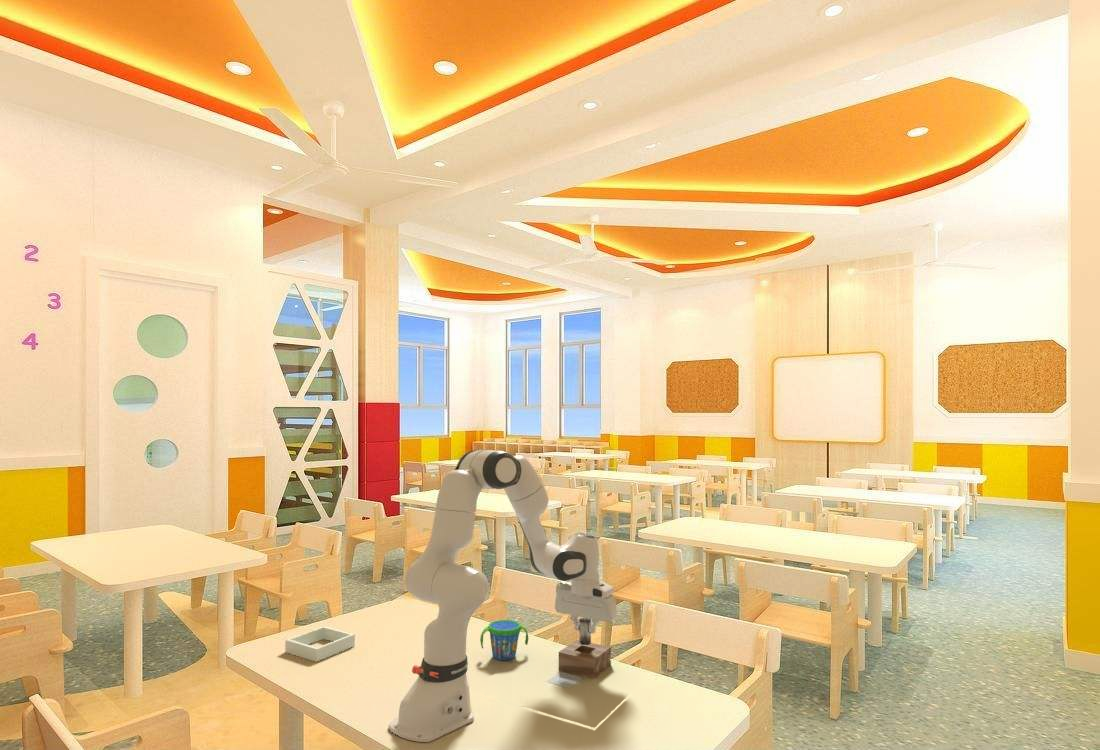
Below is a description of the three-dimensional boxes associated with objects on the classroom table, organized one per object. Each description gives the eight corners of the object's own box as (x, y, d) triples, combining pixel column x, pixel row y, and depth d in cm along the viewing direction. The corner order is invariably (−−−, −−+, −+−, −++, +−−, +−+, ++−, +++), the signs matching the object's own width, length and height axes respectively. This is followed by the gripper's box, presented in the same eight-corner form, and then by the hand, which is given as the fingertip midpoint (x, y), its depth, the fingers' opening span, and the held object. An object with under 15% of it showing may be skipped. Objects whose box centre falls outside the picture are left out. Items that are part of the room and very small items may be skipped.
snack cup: (526, 649, 209) (526, 618, 210) (529, 662, 199) (530, 629, 200) (479, 651, 207) (480, 620, 208) (480, 664, 197) (480, 631, 197)
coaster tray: (316, 662, 198) (316, 649, 198) (285, 652, 206) (285, 639, 206) (354, 646, 211) (354, 634, 212) (323, 637, 219) (324, 626, 220)
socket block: (593, 680, 185) (593, 660, 186) (558, 671, 192) (558, 651, 192) (610, 666, 196) (610, 647, 196) (577, 658, 202) (577, 639, 202)
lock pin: (587, 645, 192) (587, 622, 192) (577, 643, 194) (577, 620, 194) (592, 642, 195) (592, 619, 195) (582, 639, 197) (582, 617, 197)
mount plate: (569, 690, 179) (569, 687, 179) (546, 683, 183) (546, 681, 183) (583, 679, 186) (583, 677, 186) (559, 673, 190) (559, 671, 190)
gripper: (551, 583, 198) (551, 628, 197) (609, 593, 187) (610, 640, 186) (561, 578, 203) (561, 622, 202) (618, 588, 193) (618, 634, 192)
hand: (585, 631), depth 194 cm, fingers closed on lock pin, 4 cm apart
